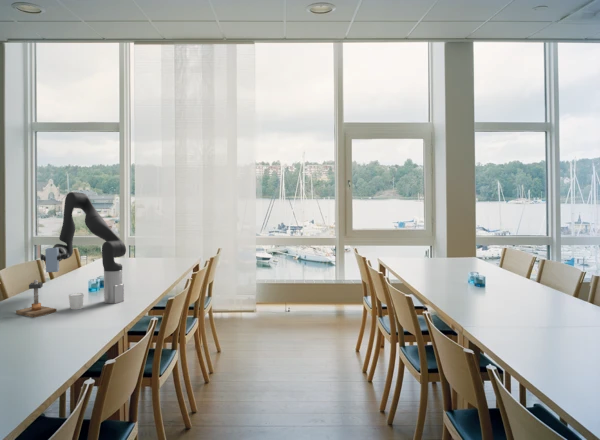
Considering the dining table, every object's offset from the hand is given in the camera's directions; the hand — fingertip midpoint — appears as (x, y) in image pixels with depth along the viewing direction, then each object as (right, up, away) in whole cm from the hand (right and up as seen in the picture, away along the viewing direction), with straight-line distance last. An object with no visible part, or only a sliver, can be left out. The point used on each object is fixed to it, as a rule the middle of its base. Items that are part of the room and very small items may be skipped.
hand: (51, 258), depth 218 cm
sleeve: (-1, -7, +3) cm, 7 cm away
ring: (-1, -13, -11) cm, 17 cm away
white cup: (+13, -25, 0) cm, 29 cm away
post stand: (-1, -26, -10) cm, 28 cm away
